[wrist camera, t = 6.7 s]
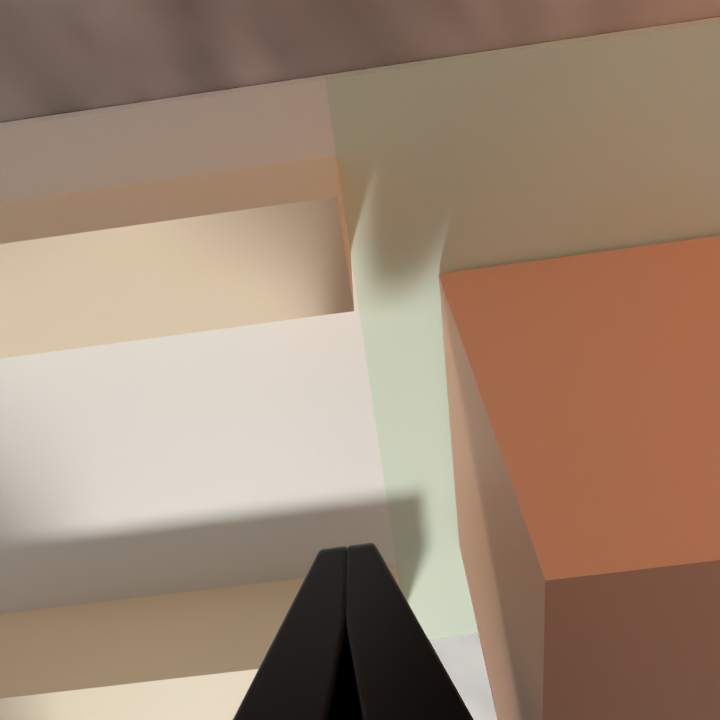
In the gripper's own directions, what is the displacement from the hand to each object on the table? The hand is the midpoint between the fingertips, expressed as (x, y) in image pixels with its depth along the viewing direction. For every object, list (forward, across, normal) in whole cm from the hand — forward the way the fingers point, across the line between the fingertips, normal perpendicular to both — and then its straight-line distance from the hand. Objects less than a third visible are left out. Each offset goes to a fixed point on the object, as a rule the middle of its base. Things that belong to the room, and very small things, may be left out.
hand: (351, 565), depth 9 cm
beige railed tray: (+4, 0, 0) cm, 4 cm away
